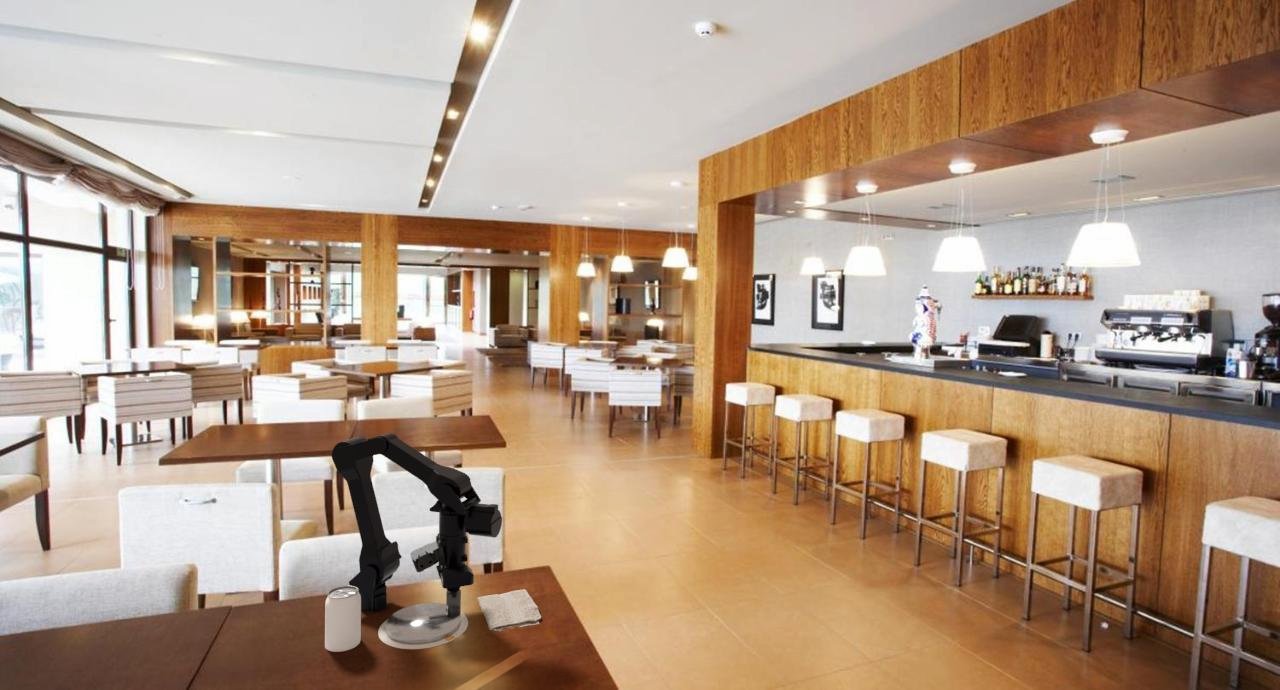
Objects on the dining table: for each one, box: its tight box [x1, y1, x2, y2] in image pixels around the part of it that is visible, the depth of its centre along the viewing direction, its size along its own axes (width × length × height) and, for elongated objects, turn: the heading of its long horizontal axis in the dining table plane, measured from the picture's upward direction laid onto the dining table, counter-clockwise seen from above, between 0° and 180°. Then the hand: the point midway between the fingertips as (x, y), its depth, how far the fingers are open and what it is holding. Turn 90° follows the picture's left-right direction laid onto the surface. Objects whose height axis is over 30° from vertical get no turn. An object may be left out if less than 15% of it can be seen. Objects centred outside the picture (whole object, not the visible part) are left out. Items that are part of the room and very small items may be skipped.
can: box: [324, 585, 362, 653], centre depth 129 cm, size 6×6×12 cm
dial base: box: [377, 612, 469, 650], centre depth 137 cm, size 18×18×2 cm
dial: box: [386, 588, 462, 644], centre depth 137 cm, size 15×15×6 cm
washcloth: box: [476, 589, 542, 632], centre depth 146 cm, size 12×18×3 cm, turn 25°
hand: (451, 600), depth 143 cm, fingers closed
